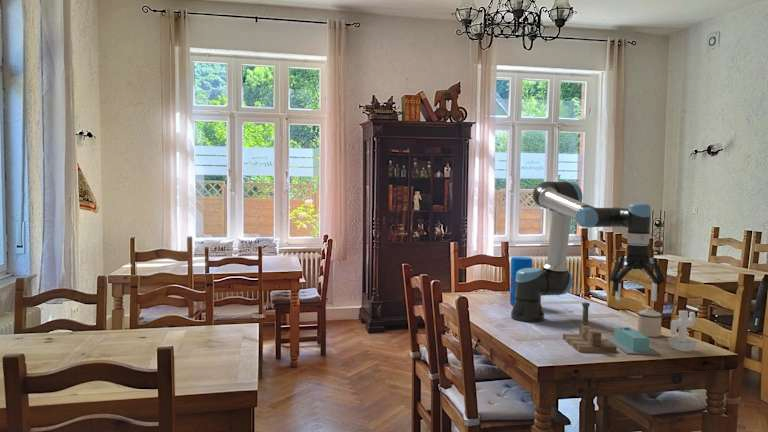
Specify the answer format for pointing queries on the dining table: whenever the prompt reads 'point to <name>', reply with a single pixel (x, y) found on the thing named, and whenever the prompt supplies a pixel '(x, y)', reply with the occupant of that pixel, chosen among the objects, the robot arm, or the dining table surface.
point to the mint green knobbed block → (631, 339)
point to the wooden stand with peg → (588, 337)
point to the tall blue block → (516, 265)
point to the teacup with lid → (649, 322)
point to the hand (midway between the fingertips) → (635, 300)
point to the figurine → (682, 332)
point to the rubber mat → (628, 351)
